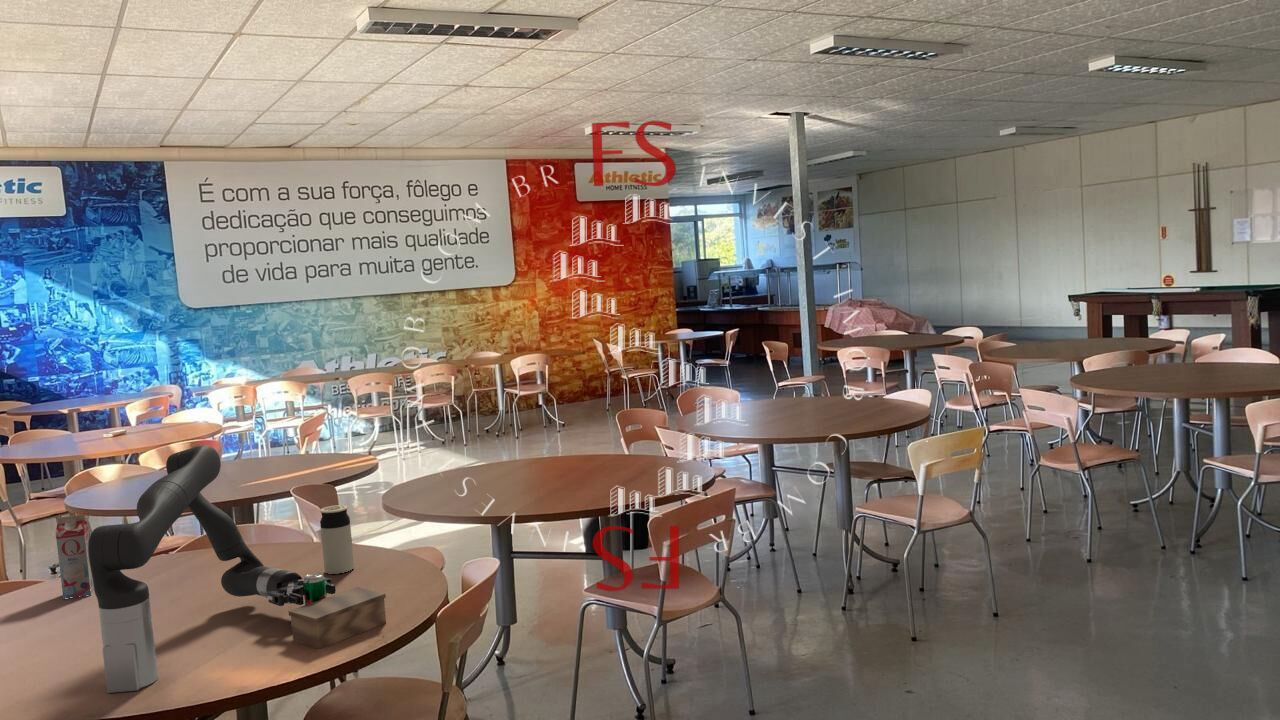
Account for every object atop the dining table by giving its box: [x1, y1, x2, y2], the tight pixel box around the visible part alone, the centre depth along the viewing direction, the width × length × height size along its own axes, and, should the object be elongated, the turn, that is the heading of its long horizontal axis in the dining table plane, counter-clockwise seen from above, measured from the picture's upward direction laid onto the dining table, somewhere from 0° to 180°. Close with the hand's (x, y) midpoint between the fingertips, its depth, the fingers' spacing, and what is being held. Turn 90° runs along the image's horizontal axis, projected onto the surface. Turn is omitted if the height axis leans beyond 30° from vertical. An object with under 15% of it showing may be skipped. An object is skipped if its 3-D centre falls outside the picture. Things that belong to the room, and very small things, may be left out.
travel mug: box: [319, 504, 355, 575], centre depth 271 cm, size 8×8×18 cm
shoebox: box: [288, 586, 387, 650], centre depth 221 cm, size 19×11×7 cm, turn 142°
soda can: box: [303, 572, 328, 605], centre depth 226 cm, size 5×5×12 cm
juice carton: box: [55, 514, 95, 599], centre depth 264 cm, size 7×7×22 cm
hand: (318, 595), depth 226 cm, fingers open, 8 cm apart
